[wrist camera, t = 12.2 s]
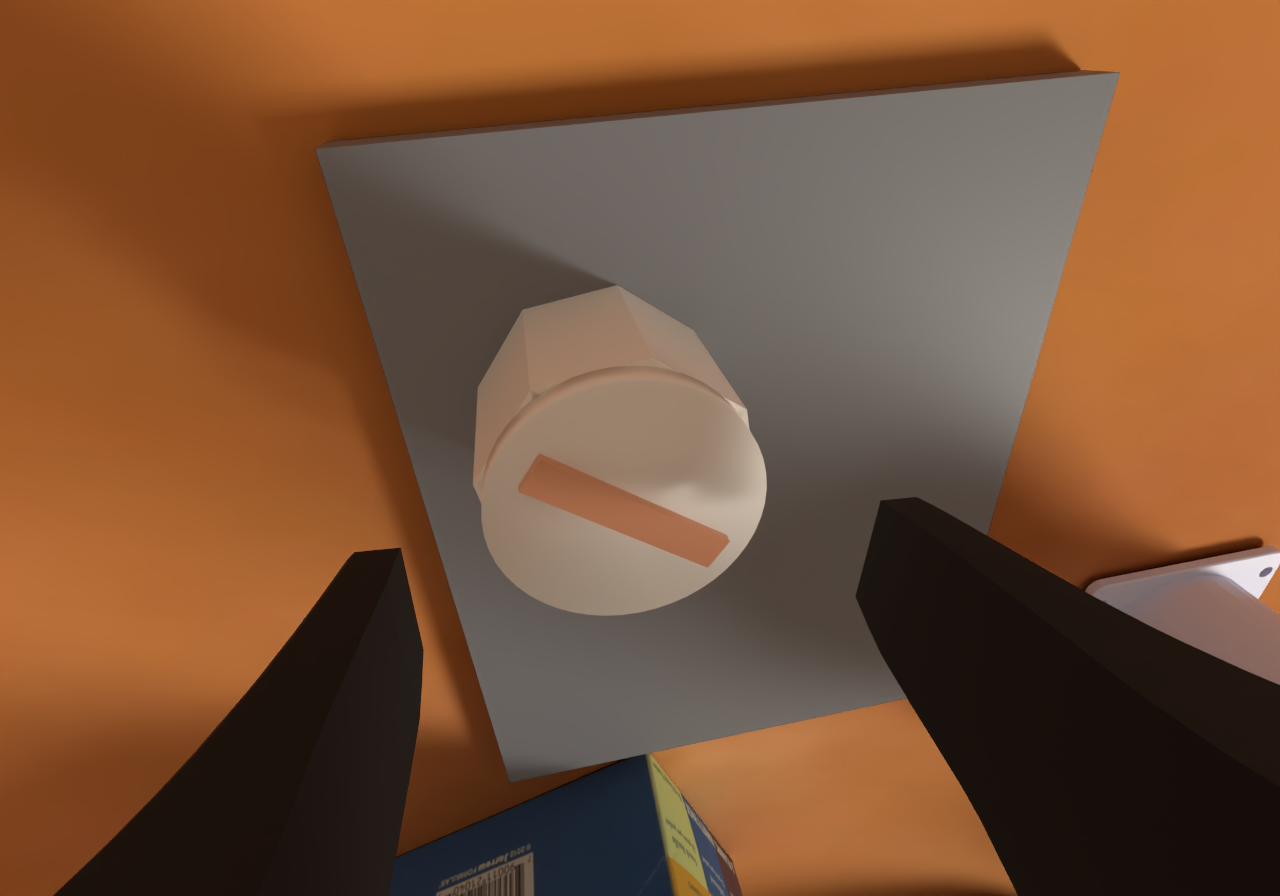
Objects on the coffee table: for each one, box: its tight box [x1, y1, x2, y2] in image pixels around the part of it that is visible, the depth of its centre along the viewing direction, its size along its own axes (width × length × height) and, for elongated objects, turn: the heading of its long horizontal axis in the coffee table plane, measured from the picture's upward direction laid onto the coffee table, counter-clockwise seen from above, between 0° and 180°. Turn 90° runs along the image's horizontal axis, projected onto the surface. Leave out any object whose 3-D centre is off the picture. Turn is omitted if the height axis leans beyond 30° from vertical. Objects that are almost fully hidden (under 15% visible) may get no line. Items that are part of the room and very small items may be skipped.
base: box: [315, 70, 1120, 783], centre depth 17 cm, size 20×16×4 cm
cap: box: [473, 285, 767, 616], centre depth 13 cm, size 5×5×5 cm
